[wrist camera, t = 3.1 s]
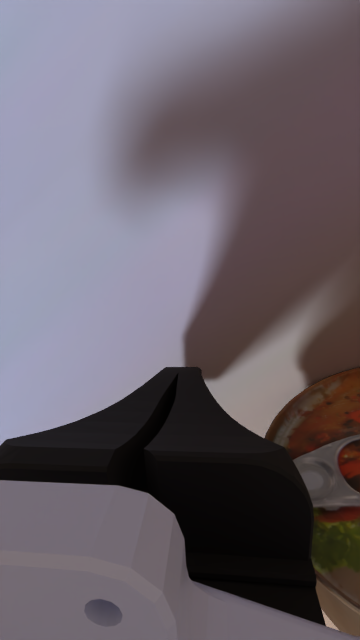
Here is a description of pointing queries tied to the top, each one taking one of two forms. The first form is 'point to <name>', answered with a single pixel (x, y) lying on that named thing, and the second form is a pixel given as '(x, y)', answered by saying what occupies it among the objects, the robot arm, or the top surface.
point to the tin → (329, 486)
